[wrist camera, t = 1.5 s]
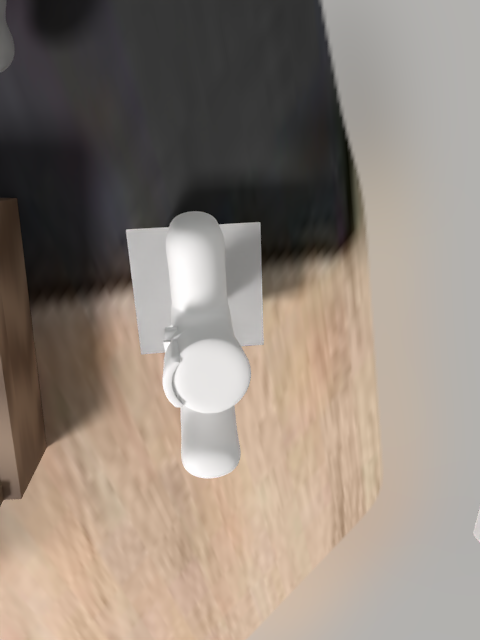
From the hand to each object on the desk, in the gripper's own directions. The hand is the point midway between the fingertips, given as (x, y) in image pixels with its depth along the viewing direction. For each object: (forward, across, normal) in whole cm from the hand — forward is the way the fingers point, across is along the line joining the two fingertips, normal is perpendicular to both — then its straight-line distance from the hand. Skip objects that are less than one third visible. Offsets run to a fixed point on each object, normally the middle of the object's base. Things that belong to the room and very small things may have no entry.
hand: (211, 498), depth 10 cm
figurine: (+21, 0, 0) cm, 21 cm away
